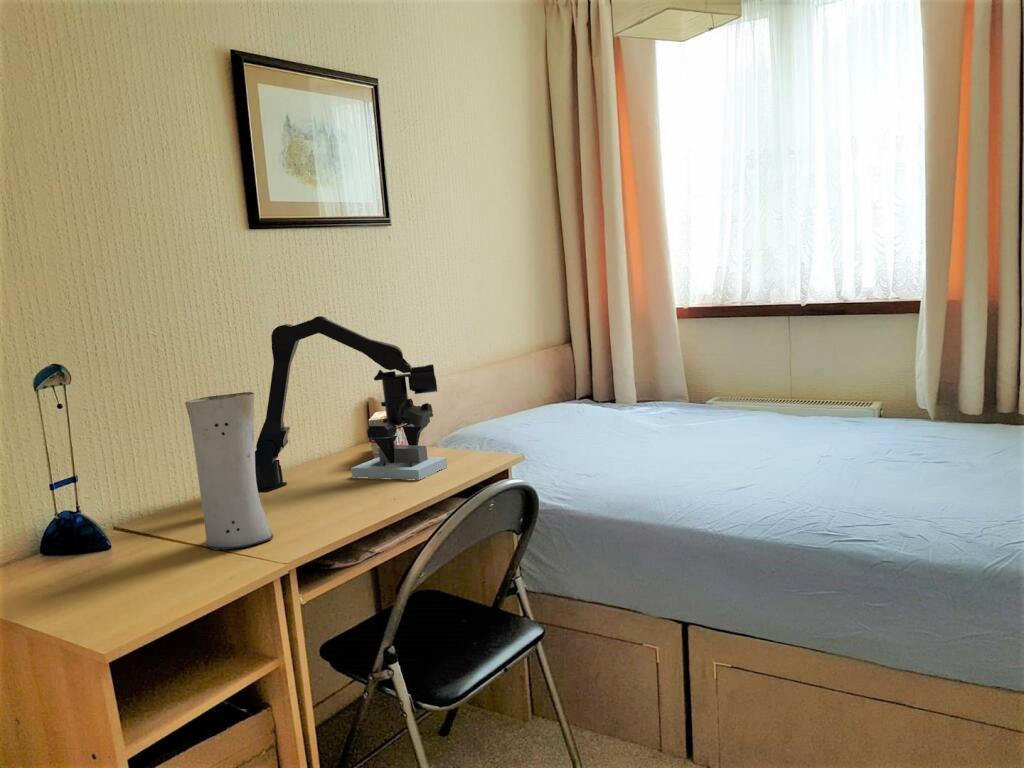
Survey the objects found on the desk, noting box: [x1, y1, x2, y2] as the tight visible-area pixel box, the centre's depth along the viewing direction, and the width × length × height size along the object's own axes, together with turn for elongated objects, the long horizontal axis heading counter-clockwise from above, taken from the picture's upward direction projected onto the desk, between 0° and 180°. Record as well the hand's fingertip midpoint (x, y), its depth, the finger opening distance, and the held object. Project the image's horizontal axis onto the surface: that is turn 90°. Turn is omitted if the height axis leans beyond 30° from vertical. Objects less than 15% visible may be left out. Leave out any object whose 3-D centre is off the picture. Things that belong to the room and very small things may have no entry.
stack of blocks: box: [368, 410, 407, 460], centre depth 213 cm, size 21×6×12 cm, turn 1°
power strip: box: [378, 444, 429, 467], centre depth 192 cm, size 12×4×6 cm, turn 62°
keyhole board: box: [351, 456, 448, 481], centre depth 191 cm, size 20×12×2 cm, turn 62°
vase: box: [184, 391, 274, 552], centre depth 147 cm, size 13×14×28 cm
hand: (403, 458), depth 193 cm, fingers open, 9 cm apart
